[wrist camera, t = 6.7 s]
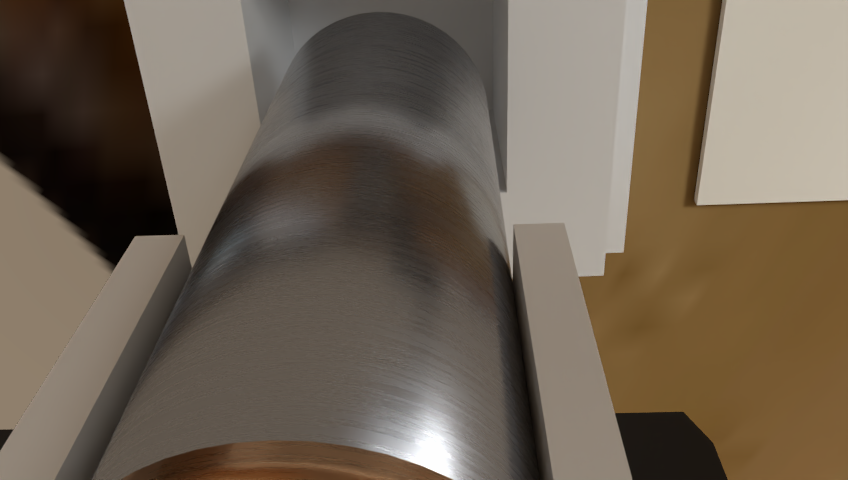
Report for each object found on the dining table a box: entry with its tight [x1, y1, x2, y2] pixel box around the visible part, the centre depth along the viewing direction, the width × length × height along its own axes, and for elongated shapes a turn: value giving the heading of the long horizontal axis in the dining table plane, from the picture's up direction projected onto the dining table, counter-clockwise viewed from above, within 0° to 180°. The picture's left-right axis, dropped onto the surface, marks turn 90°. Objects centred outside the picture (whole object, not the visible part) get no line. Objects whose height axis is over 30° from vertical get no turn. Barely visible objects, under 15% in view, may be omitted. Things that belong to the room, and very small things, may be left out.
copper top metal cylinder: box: [91, 12, 540, 480], centre depth 13 cm, size 5×5×14 cm
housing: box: [124, 0, 648, 278], centre depth 24 cm, size 18×16×8 cm
